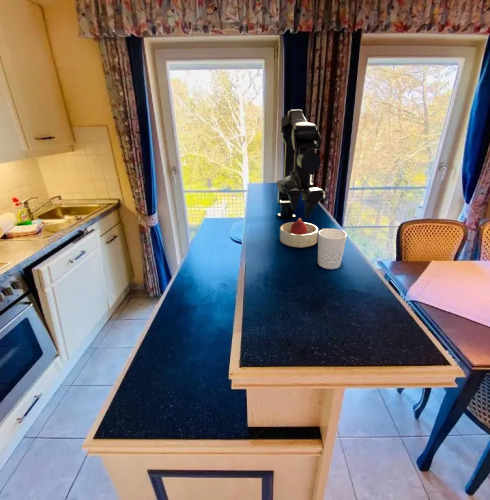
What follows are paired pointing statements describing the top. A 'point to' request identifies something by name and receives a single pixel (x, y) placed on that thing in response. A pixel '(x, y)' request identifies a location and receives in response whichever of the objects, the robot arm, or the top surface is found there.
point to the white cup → (331, 248)
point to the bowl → (298, 236)
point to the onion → (299, 227)
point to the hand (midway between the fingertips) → (300, 214)
